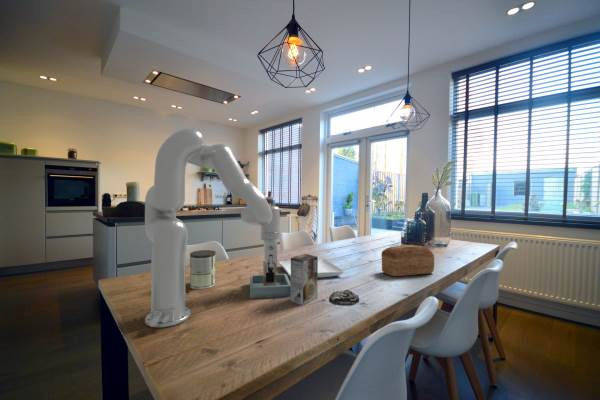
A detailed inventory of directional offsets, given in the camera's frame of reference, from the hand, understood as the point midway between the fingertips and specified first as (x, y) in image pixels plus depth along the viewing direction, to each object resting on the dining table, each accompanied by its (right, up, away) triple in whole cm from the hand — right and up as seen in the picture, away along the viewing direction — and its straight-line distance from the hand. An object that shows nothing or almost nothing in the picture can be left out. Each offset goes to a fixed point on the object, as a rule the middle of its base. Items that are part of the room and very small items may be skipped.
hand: (269, 279), depth 107 cm
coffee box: (+14, -5, -9) cm, 18 cm away
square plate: (+17, -5, +27) cm, 32 cm away
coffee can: (-29, -4, +5) cm, 30 cm away
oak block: (0, -2, 0) cm, 2 cm away
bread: (+68, -5, +27) cm, 74 cm away
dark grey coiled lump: (+29, -6, -9) cm, 31 cm away
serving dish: (0, -4, 0) cm, 4 cm away
